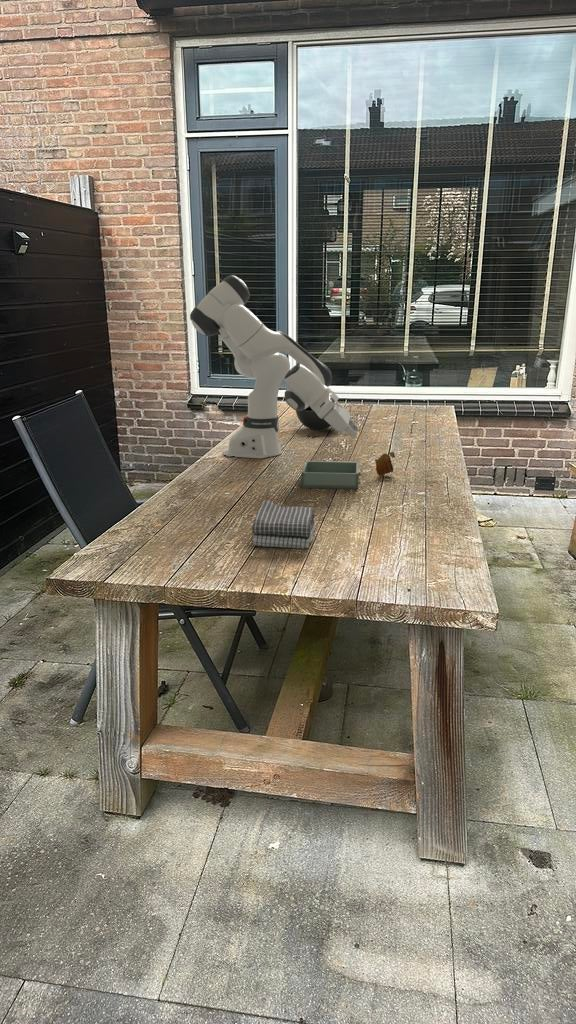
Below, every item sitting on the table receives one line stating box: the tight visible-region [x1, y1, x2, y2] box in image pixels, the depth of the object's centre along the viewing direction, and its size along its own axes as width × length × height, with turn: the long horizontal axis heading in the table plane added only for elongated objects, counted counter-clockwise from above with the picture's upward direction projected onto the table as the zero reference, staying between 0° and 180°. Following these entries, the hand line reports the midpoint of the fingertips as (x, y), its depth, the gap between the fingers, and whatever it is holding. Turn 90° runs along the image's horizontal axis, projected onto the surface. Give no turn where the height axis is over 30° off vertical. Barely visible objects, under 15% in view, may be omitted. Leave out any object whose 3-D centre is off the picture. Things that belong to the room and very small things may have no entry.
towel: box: [251, 499, 316, 549], centre depth 177 cm, size 15×18×8 cm
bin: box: [301, 460, 360, 490], centre depth 225 cm, size 18×15×5 cm
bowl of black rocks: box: [295, 406, 332, 431], centre depth 302 cm, size 20×20×19 cm
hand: (356, 433), depth 227 cm, fingers open, 8 cm apart
